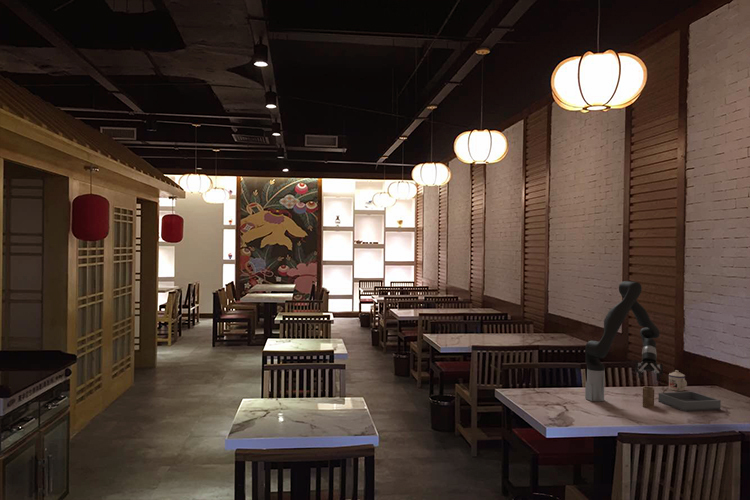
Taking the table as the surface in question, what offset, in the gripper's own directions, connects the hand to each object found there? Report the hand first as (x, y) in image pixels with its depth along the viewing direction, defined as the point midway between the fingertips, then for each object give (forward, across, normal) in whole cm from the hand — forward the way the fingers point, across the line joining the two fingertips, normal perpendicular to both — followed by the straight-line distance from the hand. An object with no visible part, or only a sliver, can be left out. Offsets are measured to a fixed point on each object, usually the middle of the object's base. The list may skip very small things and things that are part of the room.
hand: (648, 379), depth 315 cm
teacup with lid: (-20, +16, +38) cm, 46 cm away
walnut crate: (+16, 0, +2) cm, 16 cm away
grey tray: (+7, +20, +11) cm, 24 cm away
